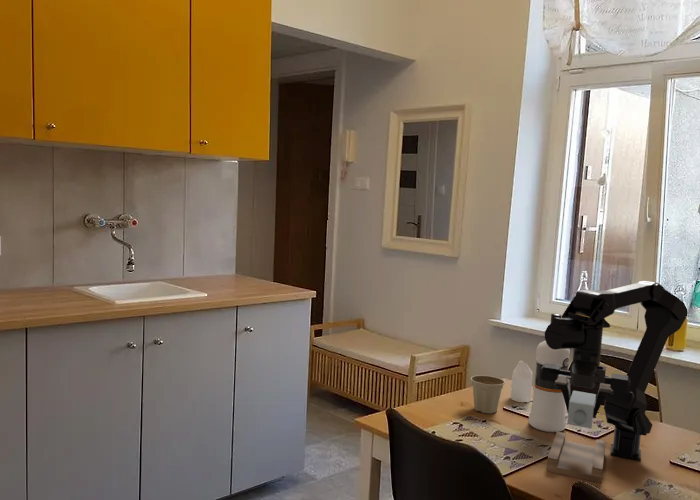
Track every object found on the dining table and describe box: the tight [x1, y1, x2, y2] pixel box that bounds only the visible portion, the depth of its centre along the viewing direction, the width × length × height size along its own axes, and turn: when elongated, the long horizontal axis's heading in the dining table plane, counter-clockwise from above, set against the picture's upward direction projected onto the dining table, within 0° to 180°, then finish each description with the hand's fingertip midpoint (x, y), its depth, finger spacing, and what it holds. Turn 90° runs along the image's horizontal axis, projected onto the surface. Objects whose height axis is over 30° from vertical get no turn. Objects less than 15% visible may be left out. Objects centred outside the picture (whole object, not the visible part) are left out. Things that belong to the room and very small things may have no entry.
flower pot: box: [470, 374, 506, 414], centre depth 171 cm, size 9×9×9 cm
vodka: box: [528, 313, 571, 433], centre depth 160 cm, size 9×9×30 cm
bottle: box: [566, 390, 597, 430], centre depth 137 cm, size 13×5×5 cm, turn 155°
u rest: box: [546, 431, 606, 484], centre depth 139 cm, size 18×11×3 cm, turn 155°
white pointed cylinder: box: [510, 360, 534, 403], centre depth 183 cm, size 6×12×6 cm
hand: (581, 415), depth 138 cm, fingers closed on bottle, 5 cm apart
